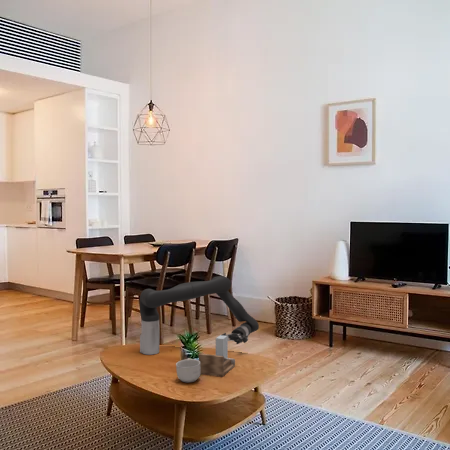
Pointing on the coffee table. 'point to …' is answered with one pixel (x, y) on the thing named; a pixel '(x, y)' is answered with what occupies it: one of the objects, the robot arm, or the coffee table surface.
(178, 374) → the teacup
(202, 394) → the coffee table surface
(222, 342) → the tall grey pillar
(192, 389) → the coffee table surface
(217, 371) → the track block
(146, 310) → the robot arm
